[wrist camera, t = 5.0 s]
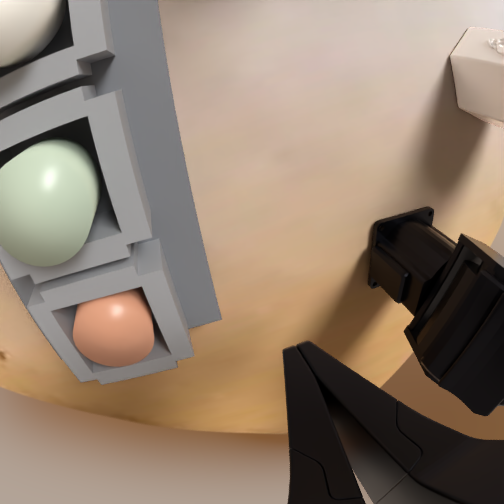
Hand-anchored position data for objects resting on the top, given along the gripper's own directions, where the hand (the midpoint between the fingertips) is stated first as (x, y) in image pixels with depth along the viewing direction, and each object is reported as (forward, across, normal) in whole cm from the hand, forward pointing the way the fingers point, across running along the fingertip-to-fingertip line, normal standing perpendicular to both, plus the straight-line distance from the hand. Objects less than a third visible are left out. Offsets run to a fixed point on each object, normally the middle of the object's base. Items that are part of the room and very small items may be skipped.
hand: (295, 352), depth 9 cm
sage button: (+8, +7, -5) cm, 12 cm away
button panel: (+12, +7, -5) cm, 15 cm away
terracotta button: (+9, +8, +3) cm, 12 cm away
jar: (+12, -24, -7) cm, 28 cm away
